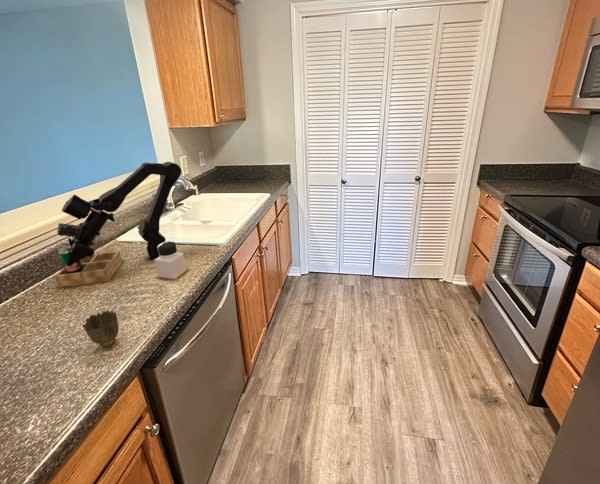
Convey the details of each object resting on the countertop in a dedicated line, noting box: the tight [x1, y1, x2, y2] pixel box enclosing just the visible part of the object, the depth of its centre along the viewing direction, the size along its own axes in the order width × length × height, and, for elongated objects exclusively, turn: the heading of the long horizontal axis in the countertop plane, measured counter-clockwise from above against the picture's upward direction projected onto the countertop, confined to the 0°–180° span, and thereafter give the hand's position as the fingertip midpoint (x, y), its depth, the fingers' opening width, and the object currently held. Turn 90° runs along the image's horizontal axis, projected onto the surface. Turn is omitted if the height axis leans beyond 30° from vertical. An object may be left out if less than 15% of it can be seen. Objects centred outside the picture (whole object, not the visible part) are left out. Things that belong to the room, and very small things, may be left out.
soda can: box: [58, 245, 83, 274], centre depth 114 cm, size 5×5×12 cm
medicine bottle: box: [154, 241, 188, 280], centre depth 115 cm, size 7×7×12 cm
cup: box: [82, 309, 119, 348], centre depth 83 cm, size 8×7×8 cm
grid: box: [54, 250, 123, 288], centre depth 120 cm, size 16×16×4 cm
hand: (66, 263), depth 113 cm, fingers closed on soda can, 5 cm apart
